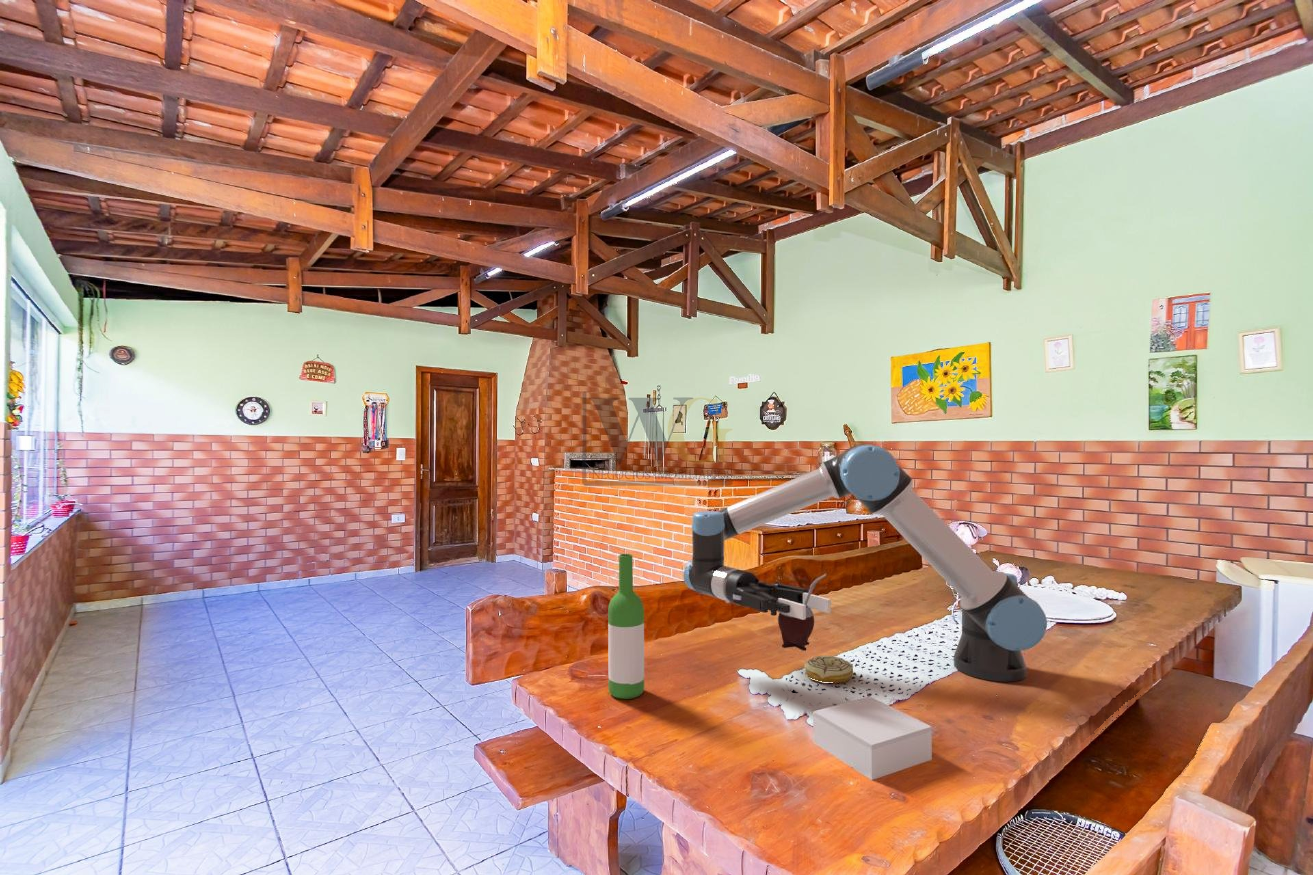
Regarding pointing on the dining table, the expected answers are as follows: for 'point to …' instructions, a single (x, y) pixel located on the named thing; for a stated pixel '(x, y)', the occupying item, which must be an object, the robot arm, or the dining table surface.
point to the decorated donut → (829, 669)
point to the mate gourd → (797, 625)
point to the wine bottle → (626, 636)
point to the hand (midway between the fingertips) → (816, 609)
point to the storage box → (872, 737)
